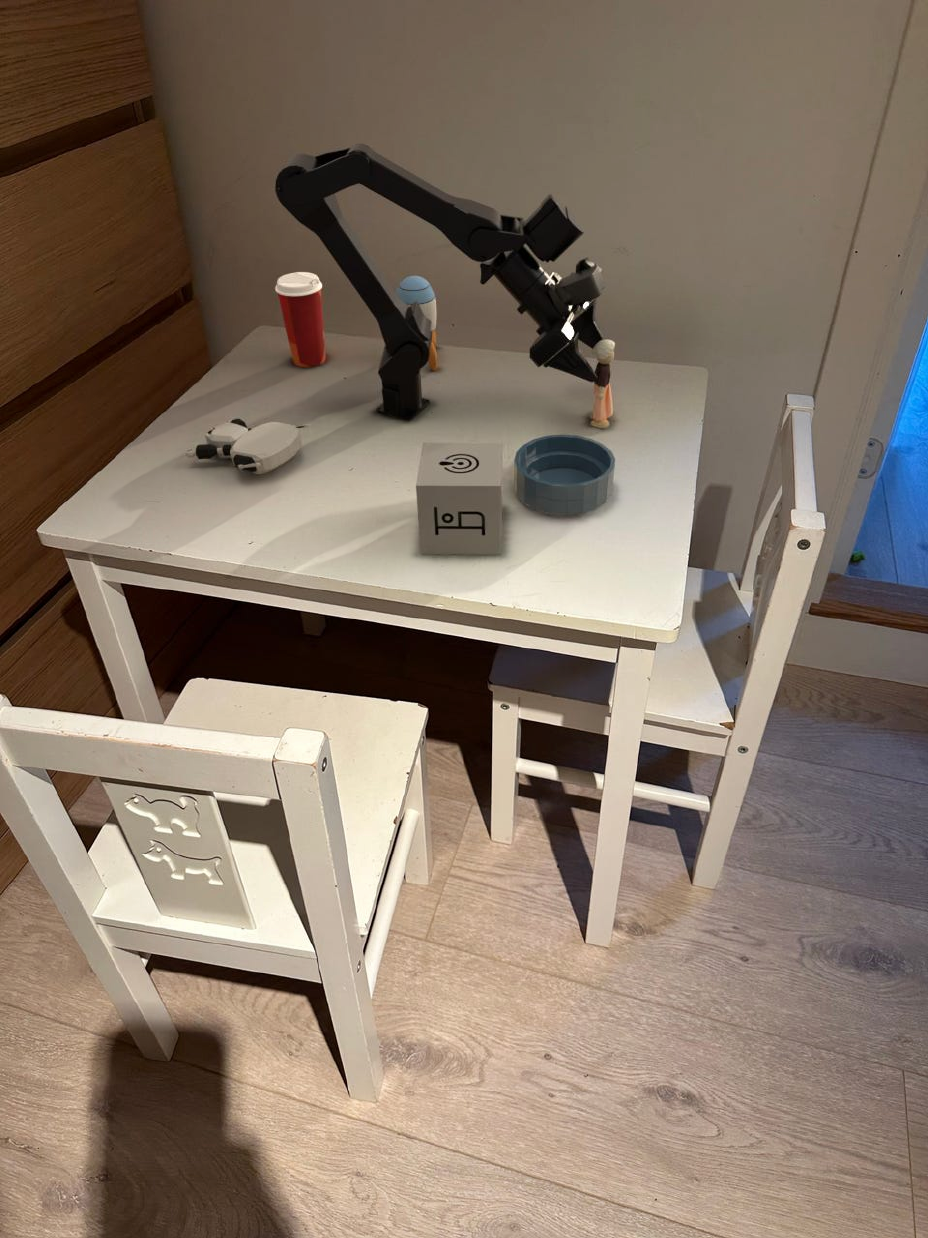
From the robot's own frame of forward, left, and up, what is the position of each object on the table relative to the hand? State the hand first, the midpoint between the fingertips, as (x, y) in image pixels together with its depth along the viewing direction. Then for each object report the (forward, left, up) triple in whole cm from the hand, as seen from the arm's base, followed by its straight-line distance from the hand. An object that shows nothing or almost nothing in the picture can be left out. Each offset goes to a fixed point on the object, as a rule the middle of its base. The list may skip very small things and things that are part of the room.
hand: (601, 366), depth 131 cm
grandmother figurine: (0, 0, -9) cm, 9 cm away
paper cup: (+2, -53, -9) cm, 53 cm away
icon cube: (+35, -4, -9) cm, 37 cm away
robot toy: (+33, -41, -9) cm, 53 cm away
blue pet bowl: (+21, +3, -8) cm, 23 cm away
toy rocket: (-6, -37, -9) cm, 38 cm away
